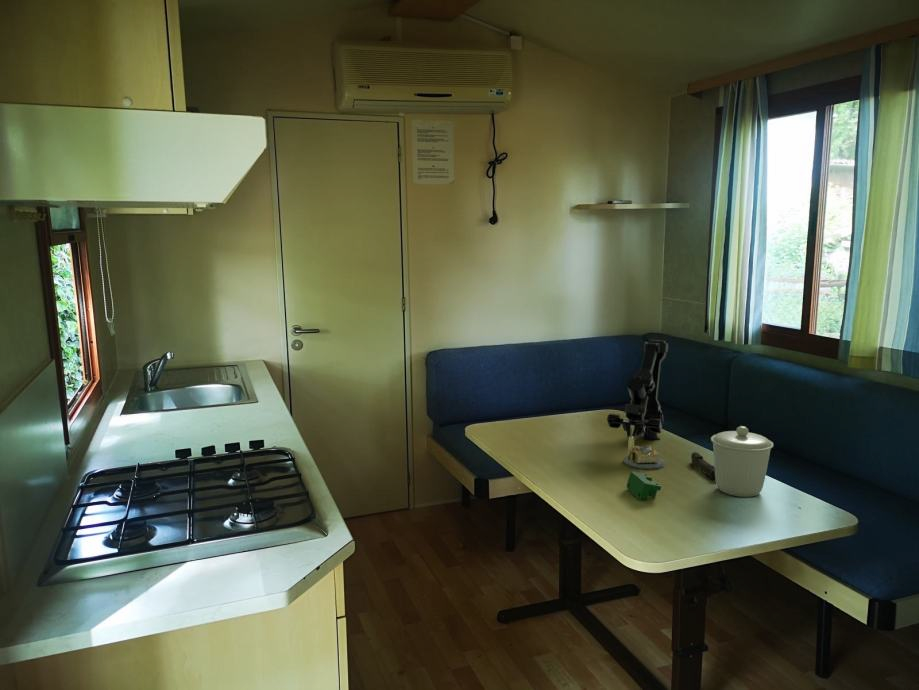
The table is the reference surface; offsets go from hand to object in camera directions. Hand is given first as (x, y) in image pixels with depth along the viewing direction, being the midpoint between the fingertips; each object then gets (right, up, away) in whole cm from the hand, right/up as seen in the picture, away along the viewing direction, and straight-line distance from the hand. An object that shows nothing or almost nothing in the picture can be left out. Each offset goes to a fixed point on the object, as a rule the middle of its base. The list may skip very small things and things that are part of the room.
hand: (629, 443), depth 248 cm
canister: (+28, -11, -27) cm, 40 cm away
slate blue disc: (+5, -7, 0) cm, 9 cm away
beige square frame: (+4, -5, 0) cm, 7 cm away
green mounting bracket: (-3, -12, -29) cm, 32 cm away
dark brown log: (+23, -9, -8) cm, 26 cm away
